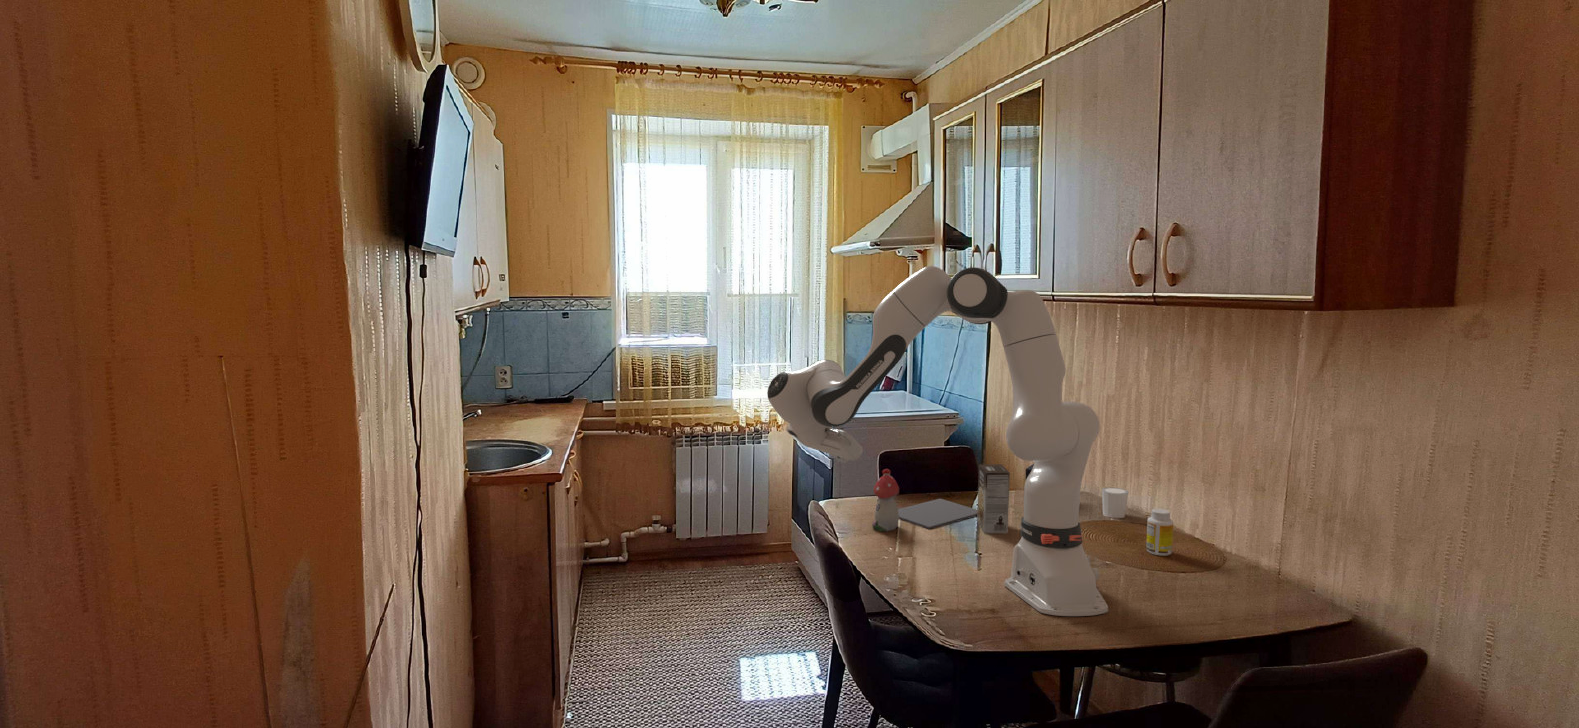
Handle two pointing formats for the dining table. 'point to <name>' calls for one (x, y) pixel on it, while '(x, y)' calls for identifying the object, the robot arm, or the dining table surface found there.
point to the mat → (935, 513)
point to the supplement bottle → (1159, 533)
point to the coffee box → (993, 498)
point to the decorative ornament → (886, 503)
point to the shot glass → (1114, 502)
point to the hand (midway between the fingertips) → (844, 460)
